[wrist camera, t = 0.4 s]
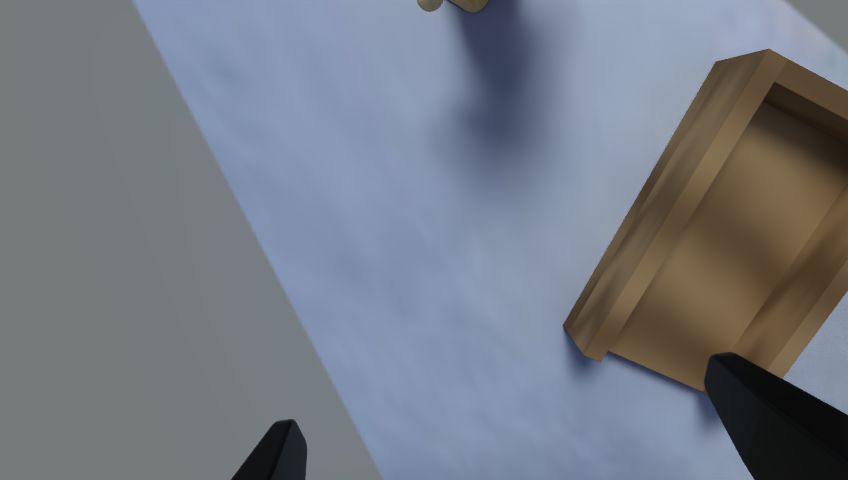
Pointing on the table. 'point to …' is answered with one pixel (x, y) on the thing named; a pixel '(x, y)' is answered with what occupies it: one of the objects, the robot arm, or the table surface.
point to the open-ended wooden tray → (730, 229)
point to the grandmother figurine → (472, 3)
